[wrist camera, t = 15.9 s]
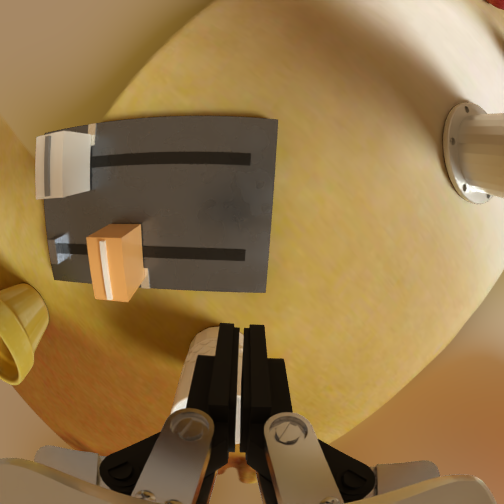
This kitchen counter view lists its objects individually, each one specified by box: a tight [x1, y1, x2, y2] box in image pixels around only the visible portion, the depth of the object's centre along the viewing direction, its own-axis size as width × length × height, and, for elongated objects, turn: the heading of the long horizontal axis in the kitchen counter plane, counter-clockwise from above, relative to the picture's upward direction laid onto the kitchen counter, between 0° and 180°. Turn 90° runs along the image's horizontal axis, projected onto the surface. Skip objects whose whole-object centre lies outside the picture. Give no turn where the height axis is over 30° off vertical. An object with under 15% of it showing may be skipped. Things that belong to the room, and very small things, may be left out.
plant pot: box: [0, 283, 49, 385], centre depth 21 cm, size 10×10×10 cm
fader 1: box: [35, 131, 91, 199], centre depth 17 cm, size 3×5×5 cm, turn 177°
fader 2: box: [86, 224, 145, 302], centre depth 20 cm, size 3×5×5 cm, turn 177°
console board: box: [44, 116, 278, 293], centre depth 22 cm, size 22×15×3 cm
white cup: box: [171, 327, 244, 444], centre depth 23 cm, size 8×8×10 cm
